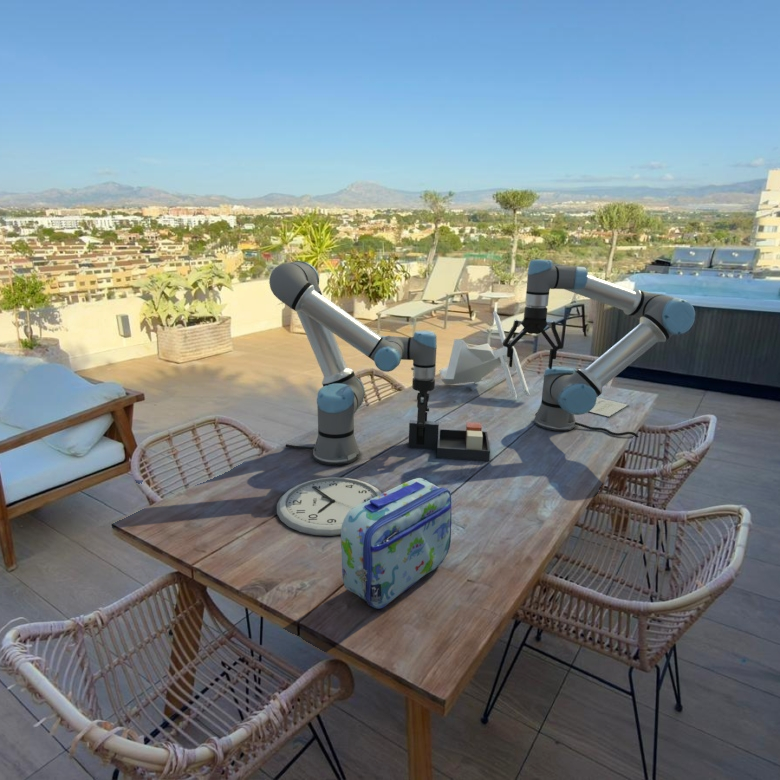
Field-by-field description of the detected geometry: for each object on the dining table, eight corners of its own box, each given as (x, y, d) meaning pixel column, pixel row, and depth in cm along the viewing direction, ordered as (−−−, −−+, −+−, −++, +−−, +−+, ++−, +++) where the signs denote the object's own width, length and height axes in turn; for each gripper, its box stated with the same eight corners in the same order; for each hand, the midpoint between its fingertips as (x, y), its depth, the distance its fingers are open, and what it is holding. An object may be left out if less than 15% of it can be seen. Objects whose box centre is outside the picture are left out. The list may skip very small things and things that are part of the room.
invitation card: (608, 416, 214) (573, 407, 224) (608, 416, 214) (573, 408, 224) (628, 404, 229) (594, 396, 238) (628, 405, 229) (594, 397, 238)
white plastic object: (461, 429, 252) (437, 405, 227) (444, 352, 274) (420, 323, 250) (535, 404, 240) (518, 377, 215) (510, 326, 262) (492, 293, 237)
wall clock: (392, 527, 129) (268, 531, 127) (391, 533, 130) (269, 537, 127) (383, 473, 158) (282, 475, 155) (383, 478, 158) (282, 480, 156)
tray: (486, 441, 188) (488, 417, 185) (489, 461, 172) (491, 435, 169) (410, 436, 191) (411, 413, 188) (406, 455, 175) (407, 430, 172)
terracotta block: (479, 441, 186) (481, 422, 184) (480, 446, 181) (481, 428, 179) (465, 440, 187) (466, 422, 184) (465, 445, 182) (466, 427, 180)
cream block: (480, 450, 178) (482, 431, 176) (481, 456, 174) (482, 436, 172) (465, 449, 179) (467, 430, 177) (466, 455, 174) (467, 435, 172)
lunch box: (370, 622, 101) (370, 527, 94) (335, 595, 108) (333, 505, 102) (455, 565, 118) (460, 481, 112) (420, 544, 125) (423, 465, 119)
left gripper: (415, 367, 187) (413, 423, 193) (409, 387, 163) (407, 450, 170) (436, 368, 186) (433, 424, 193) (433, 389, 163) (430, 451, 169)
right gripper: (571, 306, 179) (564, 366, 186) (498, 303, 182) (493, 362, 188) (576, 309, 172) (568, 371, 179) (499, 306, 175) (494, 368, 181)
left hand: (421, 436), depth 181 cm, fingers open, 13 cm apart
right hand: (530, 367), depth 184 cm, fingers open, 13 cm apart
